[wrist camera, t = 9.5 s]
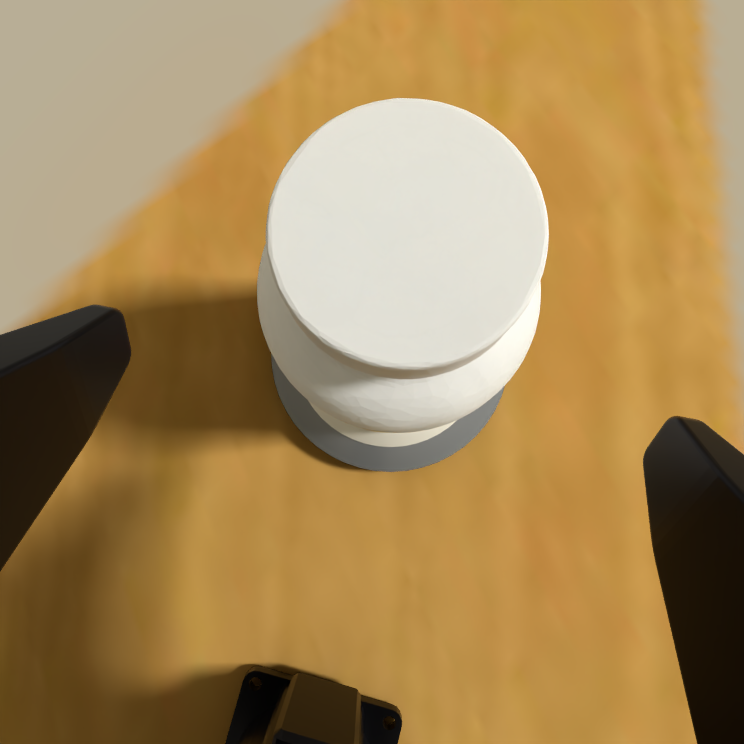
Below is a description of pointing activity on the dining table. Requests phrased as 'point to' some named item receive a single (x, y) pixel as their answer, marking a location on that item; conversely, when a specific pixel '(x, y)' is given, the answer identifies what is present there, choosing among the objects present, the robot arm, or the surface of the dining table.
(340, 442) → the push button
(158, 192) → the dining table surface
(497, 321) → the supplement bottle
